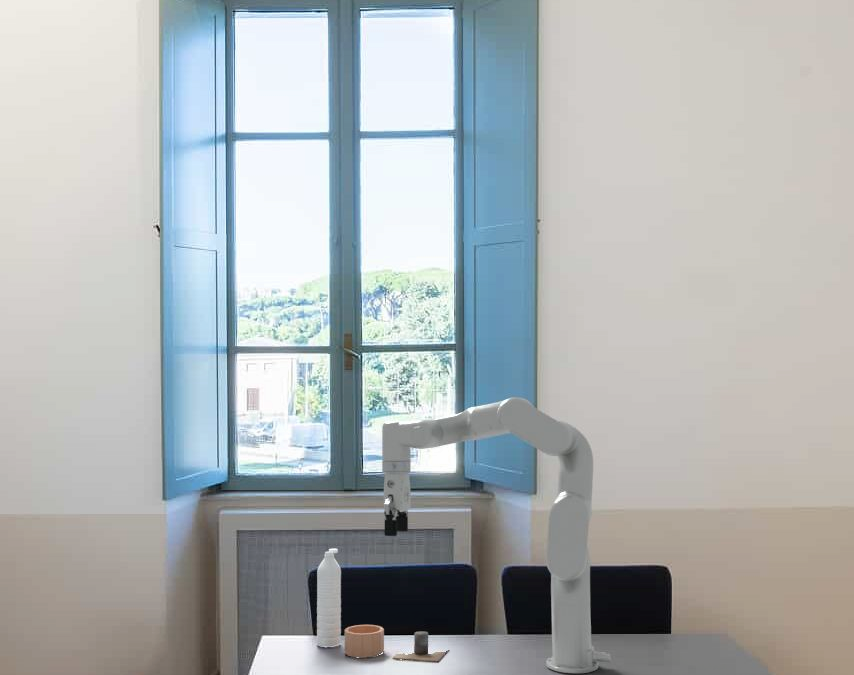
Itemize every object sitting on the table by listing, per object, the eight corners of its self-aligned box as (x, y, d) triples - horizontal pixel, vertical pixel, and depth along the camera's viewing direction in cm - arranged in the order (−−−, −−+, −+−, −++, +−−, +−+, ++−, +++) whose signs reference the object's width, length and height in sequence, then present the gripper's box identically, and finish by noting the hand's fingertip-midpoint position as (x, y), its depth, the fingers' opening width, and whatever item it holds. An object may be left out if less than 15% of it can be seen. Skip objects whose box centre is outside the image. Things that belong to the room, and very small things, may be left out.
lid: (449, 652, 222) (449, 629, 223) (438, 664, 210) (437, 640, 211) (405, 649, 225) (405, 626, 226) (392, 661, 214) (392, 637, 214)
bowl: (388, 649, 223) (388, 625, 224) (376, 659, 214) (376, 635, 214) (352, 646, 226) (352, 623, 226) (339, 656, 216) (339, 632, 217)
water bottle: (337, 649, 224) (337, 553, 226) (313, 648, 225) (314, 553, 227) (345, 640, 232) (345, 548, 235) (323, 639, 233) (323, 548, 236)
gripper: (400, 469, 213) (400, 538, 211) (418, 466, 230) (419, 529, 228) (372, 469, 215) (372, 537, 213) (392, 465, 232) (392, 528, 230)
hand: (396, 533), depth 221 cm, fingers open, 9 cm apart
